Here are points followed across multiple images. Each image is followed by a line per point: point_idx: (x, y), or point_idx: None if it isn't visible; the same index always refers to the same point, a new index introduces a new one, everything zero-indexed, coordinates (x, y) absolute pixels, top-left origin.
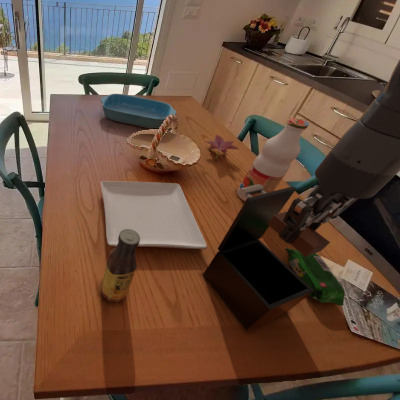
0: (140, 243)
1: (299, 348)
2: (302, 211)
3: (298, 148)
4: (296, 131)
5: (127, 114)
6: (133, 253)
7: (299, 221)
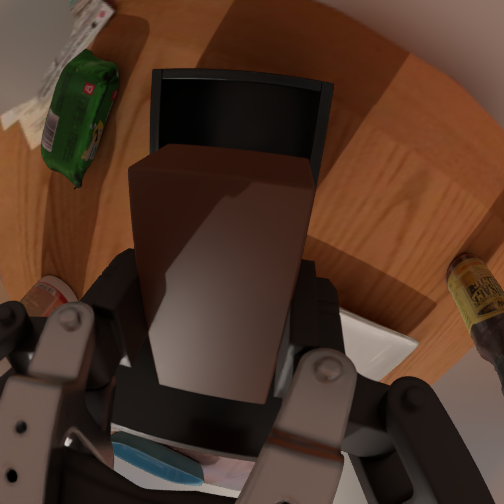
0: (369, 326)
1: (244, 13)
2: None
3: None
4: None
5: (177, 467)
6: None
7: (473, 477)
